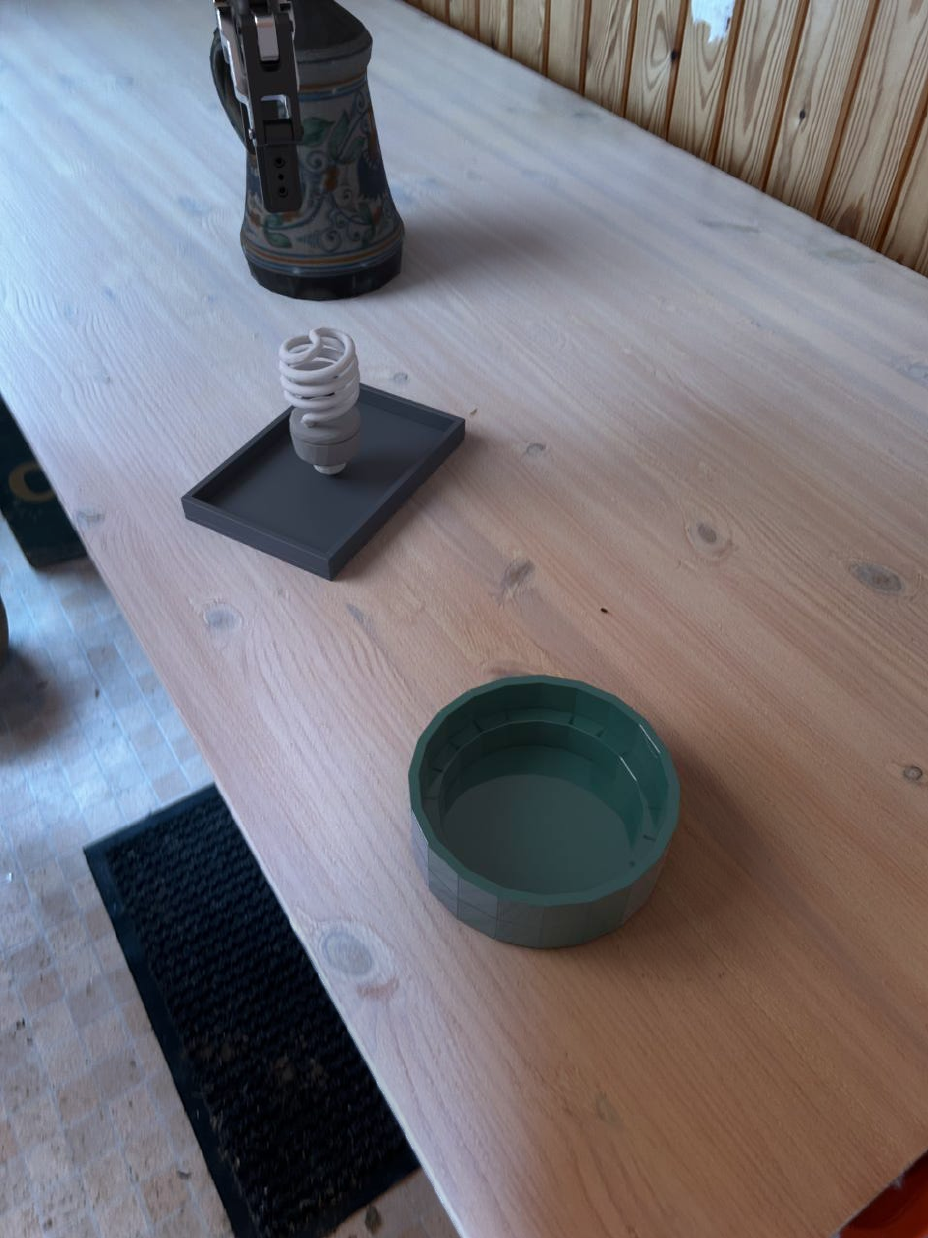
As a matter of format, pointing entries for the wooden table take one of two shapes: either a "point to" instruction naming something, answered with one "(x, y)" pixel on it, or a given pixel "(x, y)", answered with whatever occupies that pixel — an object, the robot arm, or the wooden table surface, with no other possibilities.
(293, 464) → the tray
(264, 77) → the robot arm
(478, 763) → the bowl
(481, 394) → the wooden table surface
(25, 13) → the wooden table surface
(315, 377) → the light bulb
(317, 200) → the beer stein
